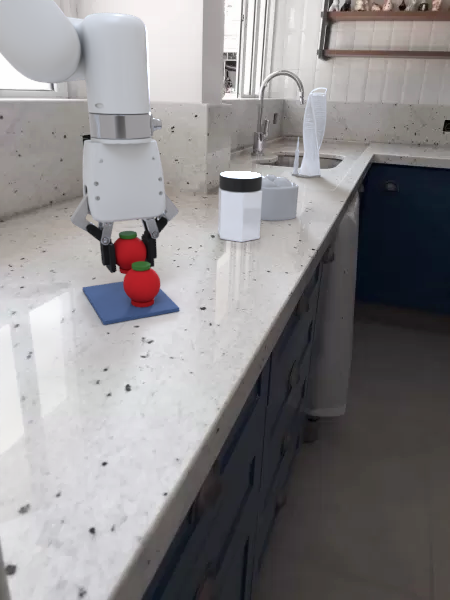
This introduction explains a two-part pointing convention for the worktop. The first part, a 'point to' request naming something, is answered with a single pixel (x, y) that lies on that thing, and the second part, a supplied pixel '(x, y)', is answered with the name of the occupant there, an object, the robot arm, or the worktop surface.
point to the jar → (239, 206)
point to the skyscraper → (312, 135)
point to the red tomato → (129, 250)
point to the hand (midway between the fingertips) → (130, 265)
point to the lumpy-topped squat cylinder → (278, 198)
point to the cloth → (124, 303)
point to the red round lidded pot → (141, 284)
